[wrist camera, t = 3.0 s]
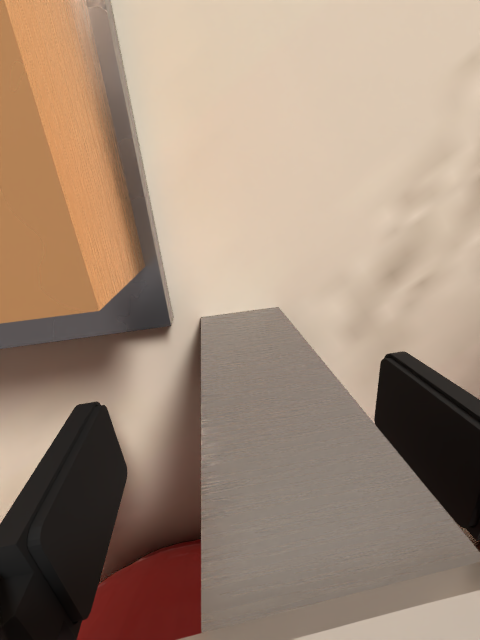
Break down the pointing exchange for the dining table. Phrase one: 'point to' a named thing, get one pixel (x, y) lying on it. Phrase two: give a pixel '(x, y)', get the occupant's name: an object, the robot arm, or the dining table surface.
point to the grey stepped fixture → (71, 181)
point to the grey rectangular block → (300, 482)
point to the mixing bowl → (150, 598)
